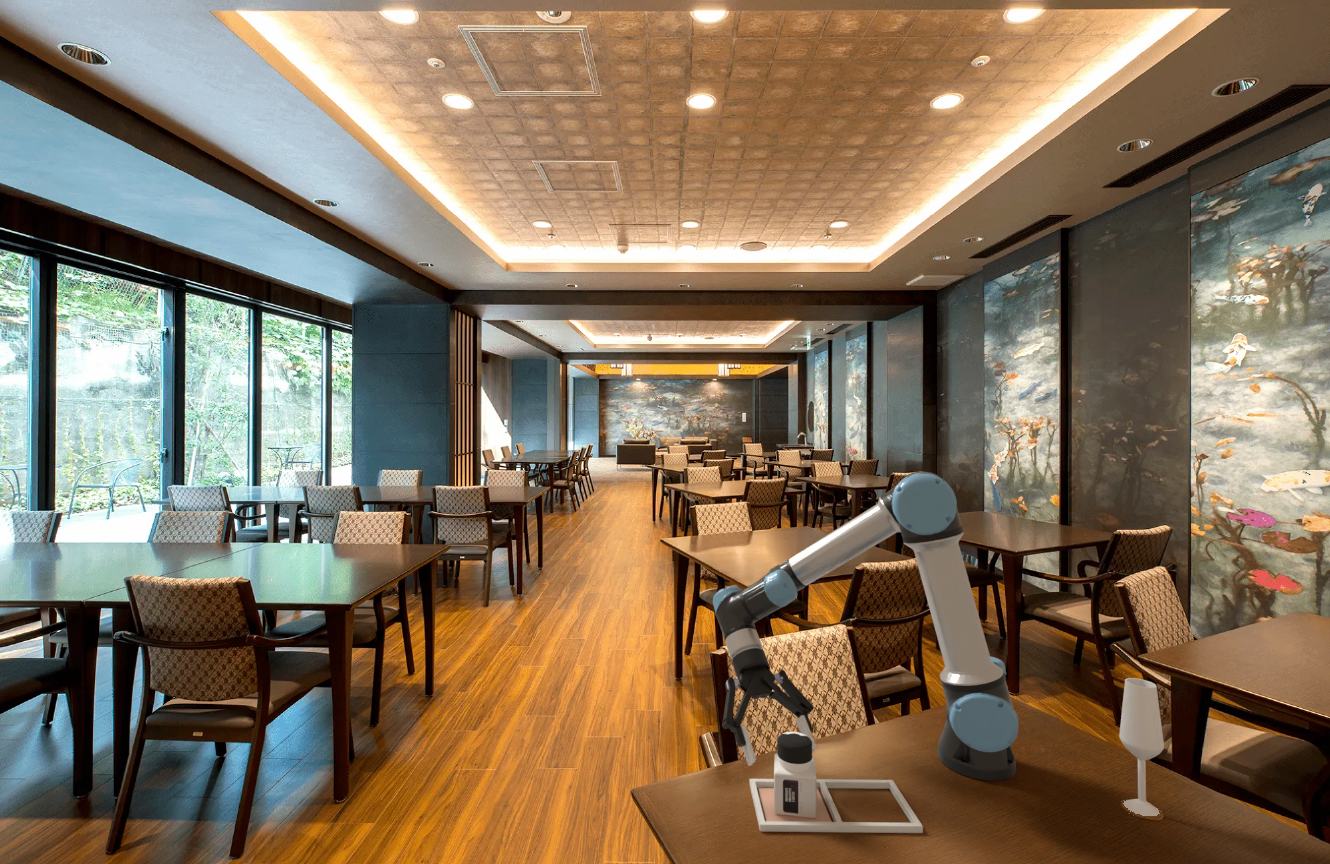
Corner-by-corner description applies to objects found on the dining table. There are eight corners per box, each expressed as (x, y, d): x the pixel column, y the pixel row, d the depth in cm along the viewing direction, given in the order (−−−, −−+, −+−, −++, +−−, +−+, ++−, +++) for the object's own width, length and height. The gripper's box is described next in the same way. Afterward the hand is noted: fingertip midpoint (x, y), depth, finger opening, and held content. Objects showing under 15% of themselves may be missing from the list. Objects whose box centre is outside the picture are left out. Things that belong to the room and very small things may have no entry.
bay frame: (892, 785, 124) (892, 779, 124) (922, 832, 109) (922, 826, 109) (749, 784, 124) (749, 778, 124) (760, 831, 109) (760, 824, 109)
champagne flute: (1167, 825, 111) (1165, 692, 111) (1121, 813, 115) (1120, 684, 115) (1162, 806, 117) (1160, 680, 117) (1118, 795, 120) (1117, 673, 121)
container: (816, 819, 112) (816, 748, 112) (774, 814, 114) (773, 744, 114) (814, 795, 120) (814, 729, 120) (774, 791, 121) (774, 725, 121)
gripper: (789, 656, 141) (828, 752, 127) (690, 669, 132) (719, 774, 118) (802, 640, 136) (844, 738, 122) (700, 653, 127) (732, 760, 113)
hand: (783, 756), depth 120 cm, fingers open, 13 cm apart
